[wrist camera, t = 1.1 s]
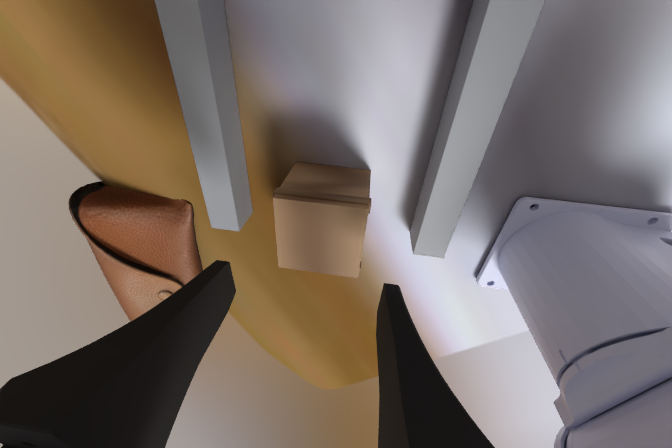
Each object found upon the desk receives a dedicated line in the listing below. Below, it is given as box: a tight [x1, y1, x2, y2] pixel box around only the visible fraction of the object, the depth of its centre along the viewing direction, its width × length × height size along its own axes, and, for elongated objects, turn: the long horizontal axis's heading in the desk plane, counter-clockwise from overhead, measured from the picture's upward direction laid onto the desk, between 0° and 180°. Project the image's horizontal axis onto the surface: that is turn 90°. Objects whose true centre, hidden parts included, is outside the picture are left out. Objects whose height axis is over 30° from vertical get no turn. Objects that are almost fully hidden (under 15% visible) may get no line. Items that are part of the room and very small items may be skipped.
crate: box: [273, 162, 371, 278], centre depth 18 cm, size 5×5×5 cm
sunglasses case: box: [69, 181, 203, 321], centre depth 25 cm, size 18×7×7 cm, turn 174°
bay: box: [155, 0, 545, 258], centre depth 15 cm, size 16×16×3 cm
